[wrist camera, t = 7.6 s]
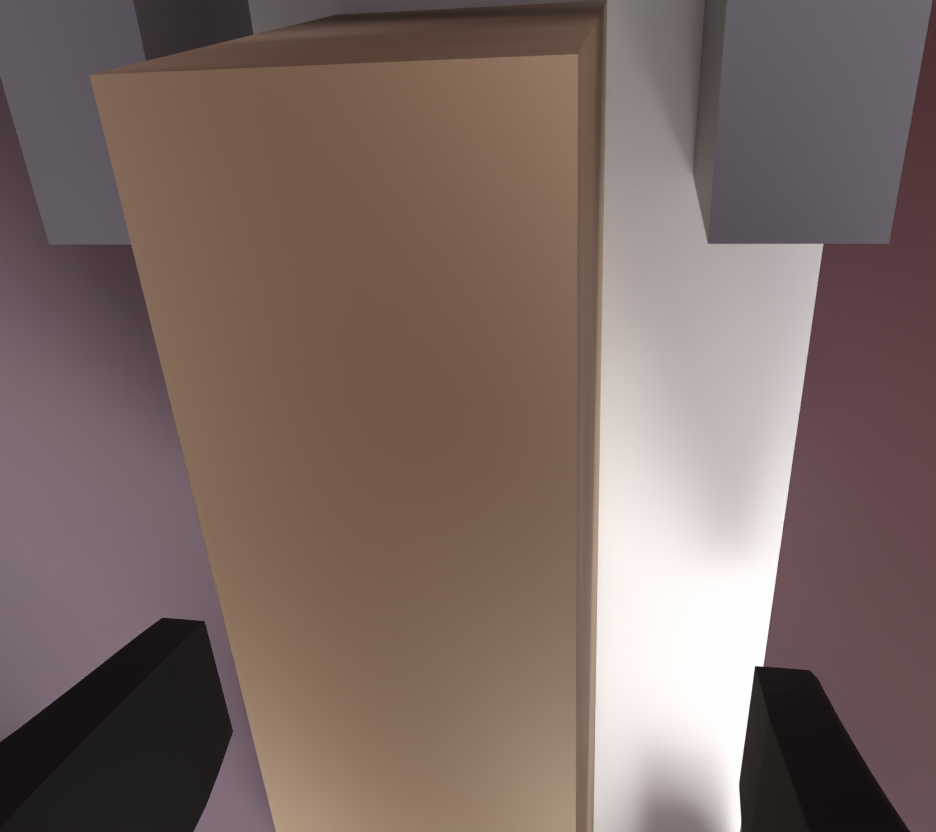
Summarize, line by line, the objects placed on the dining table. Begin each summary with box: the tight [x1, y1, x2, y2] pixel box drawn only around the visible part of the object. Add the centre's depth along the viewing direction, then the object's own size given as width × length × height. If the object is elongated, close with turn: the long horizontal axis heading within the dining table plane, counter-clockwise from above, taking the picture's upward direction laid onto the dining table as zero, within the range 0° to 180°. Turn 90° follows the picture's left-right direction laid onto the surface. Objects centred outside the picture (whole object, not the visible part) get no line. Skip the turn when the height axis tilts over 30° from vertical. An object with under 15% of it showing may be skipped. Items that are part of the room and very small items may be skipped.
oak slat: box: [90, 0, 607, 832], centre depth 11 cm, size 3×16×5 cm, turn 4°
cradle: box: [0, 0, 932, 832], centre depth 12 cm, size 8×21×4 cm, turn 3°
